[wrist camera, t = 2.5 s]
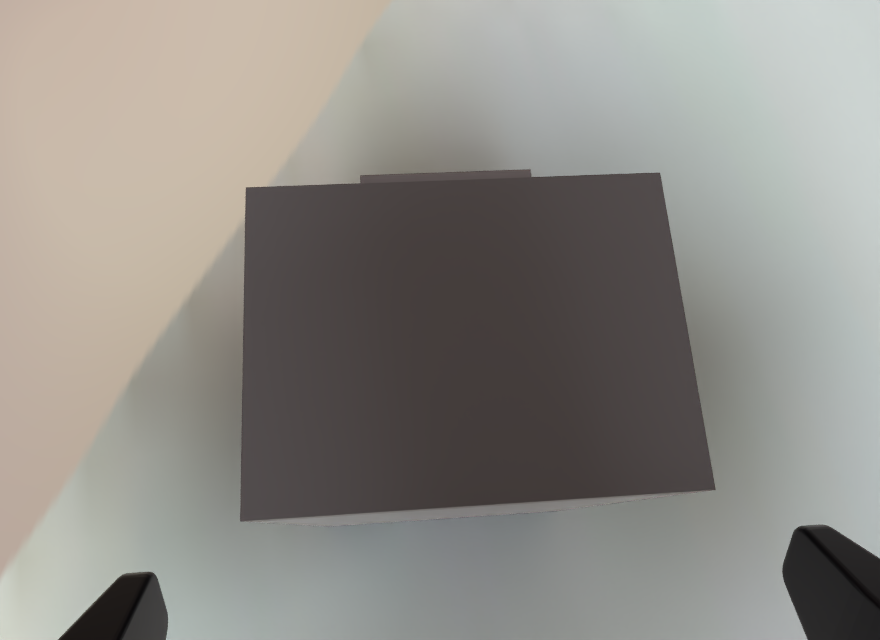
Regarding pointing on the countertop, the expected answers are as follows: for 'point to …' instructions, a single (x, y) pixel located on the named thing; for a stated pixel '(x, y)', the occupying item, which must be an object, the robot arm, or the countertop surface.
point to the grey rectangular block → (463, 349)
